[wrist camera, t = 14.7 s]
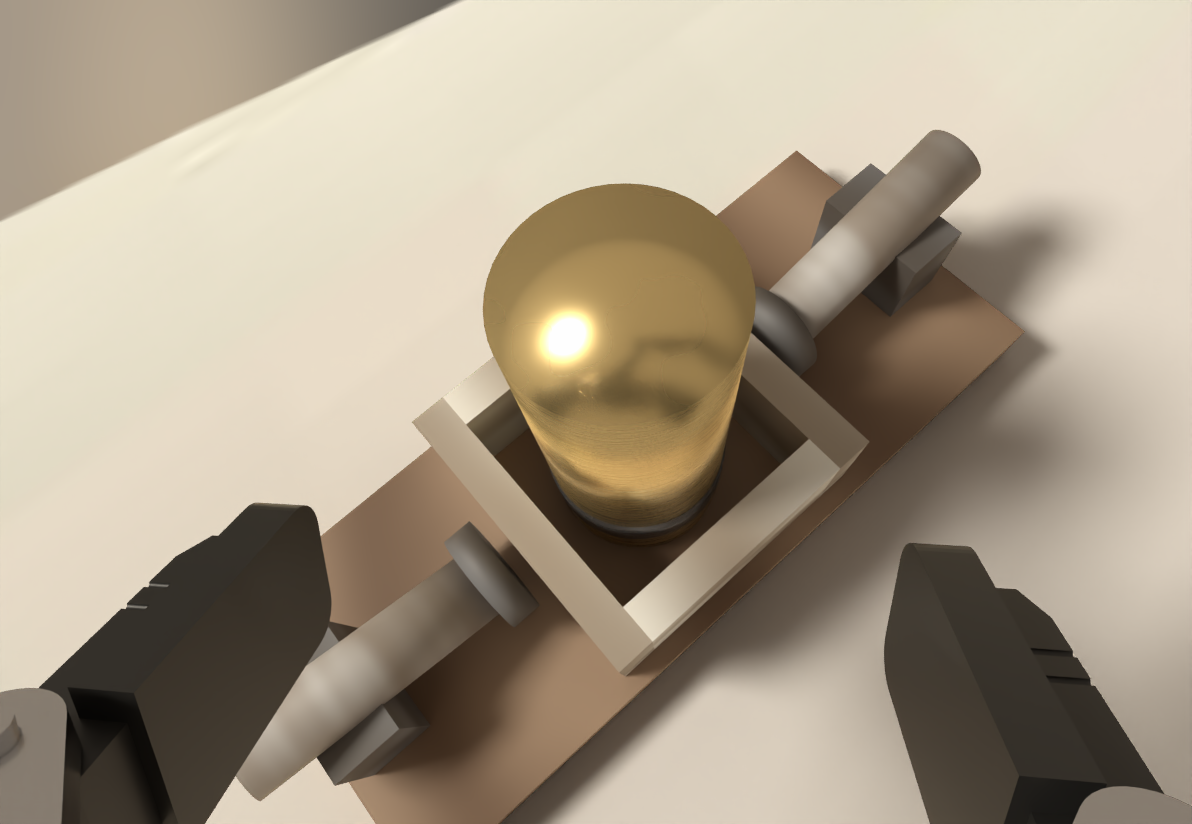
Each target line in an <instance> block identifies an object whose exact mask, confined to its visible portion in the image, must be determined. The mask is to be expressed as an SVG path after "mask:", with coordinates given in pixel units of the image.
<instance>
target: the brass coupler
mask: <svg viewBox="0 0 1192 824" xmlns="http://www.w3.org/2000/svg"><path fill="white" fill-rule="evenodd" d="M755 306H756V295H755V283H754V279H753V274H752V270H751V267H750V264H749V262H748V259H747V257H746V254H745V252H744V251H743V249H742V247H741V245H740V244H739V242H738V240H737V239H736V238H735V236H734V235H733V234H732V232H731V231H730V230H729V228H728V227H727V226H726V225H725V224H724V223H723V222H722V221H721V220H720V219H719V218H718V217H717V216H715V215H714V214H713V213H711V212H710V211H709V210H707V209H706V208H705V207H703V206H702V205H700V204H698V203H696V202H695V201H693V200H691V199H689V198H687V197H685V196H682V195H680V194H678V193H675V192H672V191H669V190H666V189H662V188H659V187H653V186H648V185H641V184H608V185H601V186H595V187H590V188H587V189H583V190H579V191H576V192H573V193H571V194H568V195H565V196H563V197H560V198H558V199H557V200H555V201H553V202H551V203H549V204H547V205H545V206H544V207H542V208H541V209H539V210H538V211H537V212H535V213H534V214H532V215H531V216H530V217H529V218H528V219H526V220H525V221H524V222H523V223H522V224H521V225H520V226H519V227H518V228H517V229H516V230H515V231H514V232H513V233H512V234H511V235H510V237H509V238H508V239H507V241H506V242H505V244H504V245H503V246H502V248H501V249H500V251H499V253H498V255H497V257H496V259H495V260H494V262H493V264H492V267H491V270H490V273H489V275H488V278H487V282H486V287H485V292H484V301H483V317H484V327H485V331H486V336H487V340H488V343H489V345H490V348H491V351H492V353H493V356H494V358H495V360H496V362H497V364H498V366H499V368H500V370H501V372H502V373H503V375H504V377H505V379H506V381H507V383H508V385H509V387H510V389H511V391H512V393H513V395H514V397H515V399H516V401H517V403H518V405H519V407H520V409H521V411H522V413H523V415H524V417H525V419H526V421H527V423H528V425H529V427H530V429H531V431H532V433H533V435H534V437H535V439H536V441H537V443H538V445H539V447H540V449H541V451H542V453H543V455H544V457H545V459H546V461H547V463H548V464H549V467H550V471H551V473H552V476H553V478H554V481H555V483H556V485H557V487H558V489H559V491H560V492H561V494H562V496H563V498H564V500H565V501H566V503H567V504H568V505H569V507H570V508H571V509H572V511H573V513H574V514H575V516H576V517H577V518H578V520H579V521H580V522H581V523H582V524H583V525H584V526H585V527H586V528H587V529H589V530H590V531H591V532H592V533H594V534H595V535H597V536H599V537H600V538H602V539H604V540H606V541H609V542H611V543H614V544H618V545H621V546H627V547H651V546H657V545H660V544H664V543H667V542H669V541H672V540H674V539H676V538H678V537H679V536H681V535H683V534H684V533H686V532H687V531H688V530H689V529H691V528H692V527H693V526H694V525H695V524H696V523H697V522H698V521H699V520H700V519H701V517H702V516H703V514H704V513H705V512H706V510H707V508H708V506H709V504H710V503H711V500H712V497H713V495H714V492H715V490H716V487H717V484H718V482H719V478H720V474H721V470H722V466H723V461H724V457H725V447H726V439H727V435H728V431H729V426H730V422H731V417H732V413H733V409H734V404H735V400H736V396H737V391H738V387H739V383H740V378H741V374H742V370H743V365H744V361H745V357H746V352H747V348H748V344H749V339H750V335H751V331H752V326H753V322H754V318H755Z"/></svg>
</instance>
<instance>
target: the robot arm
mask: <svg viewBox="0 0 1192 824" xmlns="http://www.w3.org/2000/svg"><path fill="white" fill-rule="evenodd" d="M331 606H332V600H331V591H330V586H329V580H328V575H327V569H326V564H325V558H324V553H323V548H322V542H321V537H320V531H319V526H318V521H317V517H316V515H315V513H314V511H313V510H312V509H311V508H310V507H309V506H304V505H287V504H271V503H253V504H251V505H249V506H248V507H247V508H246V509H245V510H244V511H243V512H242V513H241V514H240V515H239V516H238V517H237V518H236V519H235V520H234V521H233V522H232V523H231V524H230V525H229V526H228V527H227V528H226V529H225V530H224V531H223V532H222V533H221V534H220V535H219V536H211V537H209V538H208V539H206V540H204V541H202V542H201V543H199V544H197V545H195V546H194V547H192V548H190V549H188V550H186V551H185V552H183V553H181V554H179V555H178V556H176V557H175V558H174V559H173V560H172V561H171V562H170V563H169V564H168V565H167V566H165V567H164V568H163V569H162V570H161V571H160V572H159V573H158V574H157V575H156V576H155V577H154V578H153V579H152V580H151V581H150V582H149V587H144V588H143V589H141V590H140V591H139V592H138V593H137V594H136V595H135V596H134V597H133V598H132V599H131V600H130V601H129V602H128V603H127V608H126V609H121V610H120V611H118V612H117V613H116V614H115V615H114V616H113V617H112V618H111V619H110V620H109V621H108V622H107V623H106V624H105V625H104V626H103V627H102V628H101V629H100V630H99V631H98V632H97V633H95V634H94V635H93V636H92V637H91V638H90V639H89V640H88V641H87V642H86V643H85V644H84V645H83V646H82V647H81V648H80V649H79V650H78V651H77V652H76V653H75V654H74V655H72V656H71V657H70V658H69V659H68V660H67V661H66V662H65V663H64V664H63V665H62V666H61V667H60V668H59V669H58V670H57V671H56V672H55V673H54V674H53V675H52V676H51V677H50V678H48V679H47V680H46V681H45V682H44V683H43V684H42V685H41V686H40V687H39V688H24V689H15V690H9V691H4V692H1V693H0V824H205V823H206V821H207V819H208V818H209V816H210V815H211V813H212V812H213V810H214V809H215V807H216V805H217V804H218V802H219V801H220V799H221V798H222V796H223V795H224V793H225V791H226V790H227V788H228V787H229V785H230V784H231V782H232V781H233V779H234V777H235V776H236V774H237V773H238V771H239V770H240V768H241V766H242V765H243V763H244V762H245V760H246V759H247V757H248V756H249V754H250V752H251V751H252V749H253V748H254V746H255V745H256V743H257V742H258V740H259V738H260V737H261V735H262V734H263V732H264V731H265V729H266V728H267V726H268V724H269V723H270V721H271V720H272V718H273V717H274V715H275V713H276V712H277V710H278V709H279V707H280V706H281V704H282V703H283V701H284V699H285V698H286V696H287V695H288V693H289V692H290V690H291V689H292V687H293V685H294V684H295V682H296V681H297V679H298V678H299V676H300V675H301V673H302V671H303V670H304V668H305V667H306V665H307V664H308V662H309V660H310V659H311V657H312V656H313V654H314V653H315V651H316V650H317V648H318V646H319V645H320V643H321V642H322V640H323V638H324V636H325V634H326V631H327V628H328V625H329V621H330V616H331ZM884 663H885V674H886V680H887V685H888V689H889V692H890V695H891V699H892V702H893V705H894V708H895V712H896V715H897V718H898V721H899V725H900V728H901V731H902V734H903V738H904V741H905V744H906V747H907V751H908V754H909V757H910V760H911V764H912V767H913V770H914V773H915V776H916V780H917V783H918V786H919V789H920V793H921V796H922V799H923V802H924V806H925V809H926V812H927V815H928V819H929V822H930V824H1192V806H1190V805H1188V804H1186V803H1184V802H1182V801H1180V800H1177V799H1175V798H1173V797H1170V796H1167V795H1165V794H1164V793H1163V791H1162V790H1161V788H1160V787H1159V785H1158V783H1157V782H1156V780H1155V779H1154V777H1153V776H1152V774H1151V772H1150V771H1149V769H1148V768H1147V766H1146V765H1145V763H1144V762H1143V760H1142V758H1141V757H1140V755H1139V754H1138V752H1137V751H1136V749H1135V747H1134V746H1133V744H1132V743H1131V741H1130V740H1129V738H1128V737H1127V735H1126V733H1125V732H1124V730H1123V729H1122V727H1121V726H1120V724H1119V722H1118V721H1117V719H1116V718H1115V716H1114V715H1113V713H1112V712H1111V710H1110V708H1109V707H1108V705H1107V704H1106V702H1105V701H1104V699H1103V697H1102V696H1101V694H1100V693H1099V691H1098V690H1097V688H1096V687H1095V686H1091V683H1090V677H1089V676H1088V674H1087V672H1086V671H1085V669H1084V668H1083V666H1082V665H1081V663H1080V662H1079V660H1078V658H1075V657H1073V651H1072V649H1071V647H1070V646H1069V644H1068V643H1067V641H1066V640H1065V638H1064V637H1063V635H1062V633H1061V632H1060V630H1059V629H1058V627H1057V626H1056V624H1055V622H1054V621H1053V619H1052V618H1051V617H1050V616H1048V615H1047V614H1046V613H1045V612H1044V611H1042V610H1041V609H1040V608H1039V607H1037V606H1036V605H1035V604H1034V603H1032V602H1031V601H1030V600H1029V599H1028V598H1026V597H1025V596H1024V595H1023V594H1021V593H1020V592H1019V591H1018V590H1016V589H1002V588H996V587H995V586H994V584H993V582H992V580H991V579H990V577H989V575H988V573H987V572H986V570H985V568H984V566H983V565H982V563H981V561H980V559H979V558H978V556H977V554H976V553H975V551H974V550H973V549H972V548H971V547H967V546H950V545H933V544H917V543H908V544H907V545H906V546H905V547H904V549H903V552H902V555H901V559H900V564H899V569H898V574H897V579H896V584H895V590H894V595H893V600H892V605H891V610H890V616H889V621H888V626H887V631H886V637H885V646H884Z"/></svg>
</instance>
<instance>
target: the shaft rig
mask: <svg viewBox="0 0 1192 824" xmlns="http://www.w3.org/2000/svg"><path fill="white" fill-rule="evenodd" d="M980 174H981V168H980V164H979V162H978V160H977V158H976V156H975V155H974V153H973V152H972V151H971V150H970V148H969V147H968V146H967V145H966V144H965V143H963V142H962V141H961V140H960V139H958V138H957V137H955V136H954V135H952V134H950V133H948V132H945V131H941V130H933V131H931V132H929V133H928V134H927V135H926V136H925V137H924V138H923V139H922V140H921V141H920V142H919V143H918V144H917V145H916V146H915V147H914V148H913V149H912V150H911V151H910V152H909V153H908V154H907V155H906V156H905V157H904V158H903V159H902V160H901V161H900V162H899V163H898V164H897V165H896V166H895V167H894V168H893V169H892V170H891V171H890V172H889V173H888V174H887V175H886V174H884V173H883V172H882V171H880V170H879V169H878V168H876V167H875V166H874V165H872V164H870V165H868V166H867V167H866V168H865V169H864V170H862V171H861V172H860V173H859V174H858V175H856V176H855V177H854V178H853V179H852V180H850V181H849V182H848V183H847V184H846V185H844V186H843V187H842V186H841V185H839V184H838V183H837V182H836V181H834V180H833V179H832V178H831V177H829V176H828V175H827V174H826V173H824V172H823V171H822V170H821V169H819V168H818V167H817V166H815V165H814V164H813V163H812V162H810V161H809V160H808V159H807V158H805V157H804V156H803V155H802V154H800V153H799V152H798V151H795V152H794V153H793V154H792V155H791V156H789V157H788V158H787V159H786V160H784V161H783V162H782V163H781V164H779V165H778V166H777V167H776V168H775V169H773V170H772V171H771V172H770V173H768V174H767V175H766V176H765V177H763V178H762V179H761V180H760V181H758V182H757V183H756V184H755V185H754V186H752V187H751V188H750V189H749V190H747V191H746V192H745V193H744V194H742V195H741V196H740V197H739V198H738V199H736V200H735V201H734V202H733V203H731V204H730V205H729V206H728V207H726V208H725V209H724V210H723V211H721V212H720V213H719V214H718V215H717V217H718V218H719V219H720V220H721V221H722V222H723V223H724V224H725V225H726V226H727V227H728V228H729V230H730V231H731V232H732V234H733V235H734V236H735V238H736V239H737V240H738V242H739V244H740V245H741V247H742V249H743V251H744V252H745V254H746V257H747V259H748V262H749V264H750V267H751V270H752V274H753V279H754V283H755V295H756V306H755V318H754V322H753V326H752V331H751V335H750V339H749V344H748V348H747V352H746V357H745V361H744V365H743V370H742V374H741V378H740V383H739V387H738V391H737V396H736V400H735V404H734V409H733V413H732V417H731V422H730V426H729V431H728V435H727V439H726V447H725V457H724V461H723V466H722V470H721V474H720V478H719V482H718V484H717V487H716V490H715V492H714V495H713V497H712V500H711V503H710V504H709V506H708V508H707V510H706V512H705V513H704V514H703V516H702V517H701V519H700V520H699V521H698V522H697V523H696V524H695V525H694V526H693V527H692V528H691V529H689V530H688V531H687V532H686V533H684V534H683V535H681V536H679V537H678V538H676V539H674V540H672V541H669V542H667V543H664V544H660V545H657V546H651V547H627V546H621V545H618V544H614V543H611V542H609V541H606V540H604V539H602V538H600V537H599V536H597V535H595V534H594V533H592V532H591V531H590V530H589V529H587V528H586V527H585V526H584V525H583V524H582V523H581V522H580V521H579V520H578V518H577V517H576V516H575V514H574V513H573V511H572V509H571V508H570V507H569V505H568V504H567V503H566V501H565V500H564V498H563V496H562V494H561V492H560V491H559V489H558V487H557V485H556V483H555V481H554V478H553V476H552V473H551V471H550V467H549V464H548V463H547V461H546V459H545V457H544V455H543V453H542V451H541V449H540V447H539V445H538V443H537V441H536V439H535V437H534V435H533V433H532V431H531V429H530V427H529V425H528V423H527V421H526V419H525V417H524V415H523V413H522V411H521V409H520V407H519V405H518V403H517V401H516V399H515V397H514V395H513V393H512V391H511V389H510V387H509V385H508V383H507V381H506V379H505V377H504V375H503V373H502V372H501V370H500V368H499V366H498V364H497V362H496V360H495V358H494V357H493V358H491V359H490V360H489V361H488V362H486V363H485V364H484V365H483V366H481V367H480V368H479V369H478V370H476V371H475V372H474V373H473V374H471V375H470V376H469V377H468V378H466V379H465V380H464V381H463V382H461V383H460V384H459V385H458V386H456V387H455V388H454V389H453V390H451V391H450V392H449V393H448V394H446V395H445V396H444V397H443V398H441V399H440V400H439V401H438V402H436V403H435V404H434V405H433V406H431V407H430V408H429V409H428V410H426V411H425V412H424V413H423V414H421V415H420V416H419V417H418V418H416V419H415V420H414V421H413V422H412V423H413V424H414V425H415V427H416V428H417V429H418V430H419V431H420V433H421V434H422V435H423V436H424V437H425V439H426V440H427V441H428V442H429V444H430V445H431V446H432V447H430V448H429V449H428V450H427V451H425V452H424V453H423V454H422V455H420V456H419V457H418V458H417V459H415V460H414V461H413V462H412V463H411V464H409V465H408V466H407V467H406V468H404V469H403V470H402V471H401V472H399V473H398V474H397V475H396V476H394V477H393V478H392V479H391V480H390V481H388V482H387V483H386V484H385V485H383V486H382V487H381V488H380V489H378V490H377V491H376V492H375V493H374V494H372V495H371V496H370V497H369V498H367V499H366V500H365V501H364V502H362V503H361V504H360V505H359V506H357V507H356V508H355V509H354V510H353V511H351V512H350V513H349V514H348V515H346V516H345V517H344V518H343V519H341V520H340V521H339V522H338V523H336V524H335V525H334V526H333V527H332V528H330V529H329V530H328V531H327V532H325V533H324V534H323V535H322V536H320V537H321V542H322V548H323V553H324V558H325V564H326V569H327V575H328V580H329V586H330V591H331V600H332V606H331V616H330V621H329V625H328V628H327V631H326V634H325V636H324V638H323V640H322V642H321V643H320V645H319V646H318V648H317V650H316V651H315V653H314V654H313V656H312V657H311V659H310V660H309V662H308V664H307V665H306V667H305V668H304V670H303V671H302V673H301V675H300V676H299V678H298V679H297V681H296V682H295V684H294V685H293V687H292V689H291V690H290V692H289V693H288V695H287V696H286V698H285V699H284V701H283V703H282V704H281V706H280V707H279V709H278V710H277V712H276V713H275V715H274V717H273V718H272V720H271V721H270V723H269V724H268V726H267V728H266V729H265V731H264V732H263V734H262V735H261V737H260V738H259V740H258V742H257V743H256V745H255V746H254V748H253V749H252V751H251V752H250V754H249V756H248V757H247V759H246V760H245V762H244V763H243V765H242V766H241V768H240V770H239V771H238V773H237V774H236V777H237V779H238V780H239V781H240V783H241V784H242V785H243V786H244V788H245V789H246V790H247V791H248V792H249V793H250V794H251V795H252V796H253V797H254V798H255V799H257V800H258V801H261V800H263V799H264V798H265V797H267V796H268V795H269V794H270V793H272V792H273V791H274V790H275V789H277V788H278V787H279V786H281V785H282V784H283V783H284V782H286V781H287V780H288V779H289V778H291V777H292V776H293V775H295V774H296V773H297V772H298V771H300V770H301V769H302V768H304V767H305V766H306V765H307V764H309V763H310V762H311V761H312V760H314V759H315V758H316V757H317V759H318V760H319V762H320V763H321V765H322V766H323V768H324V770H325V771H326V773H327V774H328V776H329V777H330V779H331V780H332V782H333V784H334V785H339V784H343V783H347V782H349V783H350V785H351V786H352V788H353V790H354V791H355V793H356V794H357V796H358V797H359V799H360V800H361V802H362V803H363V805H364V806H365V808H366V810H367V811H368V813H369V814H370V816H371V817H372V819H373V820H374V822H375V823H376V824H500V823H501V822H502V821H503V820H504V819H505V818H506V817H508V816H509V815H510V814H511V813H512V812H513V811H514V810H515V809H516V808H517V807H518V806H519V805H520V804H521V803H523V802H524V801H525V800H526V799H527V798H528V797H529V796H530V795H531V794H532V793H533V792H534V791H535V790H536V789H537V788H539V787H540V786H541V785H542V784H543V783H544V782H545V781H546V780H547V779H548V778H549V777H550V776H551V775H552V774H554V773H555V772H556V771H557V770H558V769H559V768H560V767H561V766H562V765H563V764H564V763H565V762H566V761H567V760H569V759H570V758H571V757H572V756H573V755H574V754H575V753H576V752H577V751H578V750H579V749H580V748H581V747H582V746H584V745H585V744H586V743H587V742H588V741H589V740H590V739H591V738H592V737H593V736H594V735H595V734H596V733H597V732H599V731H600V730H601V729H602V728H603V727H604V726H605V725H606V724H607V723H608V722H609V721H610V720H611V719H612V718H614V717H615V716H616V715H617V714H618V713H619V712H620V711H621V710H622V709H623V708H624V707H625V706H626V705H627V704H629V703H630V702H631V701H632V700H633V699H634V698H635V697H636V696H637V695H638V694H639V693H640V692H641V691H642V690H643V689H645V688H646V687H647V686H648V685H649V684H650V683H651V682H652V681H653V680H654V679H655V678H656V677H657V676H658V675H660V674H661V673H662V672H663V671H664V670H665V669H666V668H667V667H668V666H669V665H670V664H671V663H672V662H673V661H675V660H676V659H677V658H678V657H679V656H680V655H681V654H682V653H683V652H684V651H685V650H686V649H687V648H688V647H690V646H691V645H692V644H693V643H694V642H695V641H696V640H697V639H698V638H699V637H700V636H701V635H702V634H703V633H705V632H706V631H707V630H708V629H709V628H710V627H711V626H712V625H713V624H714V623H715V622H716V621H717V620H718V619H720V618H721V617H722V616H723V615H724V614H725V613H726V612H727V611H728V610H729V609H730V608H731V607H732V606H733V605H734V604H736V603H737V602H738V601H739V600H740V599H741V598H742V597H743V596H744V595H745V594H746V593H747V592H748V591H749V590H751V589H752V588H753V587H754V586H755V585H756V584H757V583H758V582H759V581H760V580H761V579H762V578H763V577H764V576H766V575H767V574H768V573H769V572H770V571H771V570H772V569H773V568H774V567H775V566H776V565H777V564H778V563H779V562H781V561H782V560H783V559H784V558H785V557H786V556H787V555H788V554H789V553H790V552H791V551H792V550H793V549H794V548H796V547H797V546H798V545H799V544H800V543H801V542H802V541H803V540H804V539H805V538H806V537H807V536H808V535H809V534H811V533H812V532H813V531H814V530H815V529H816V528H817V527H818V526H819V525H820V524H821V523H822V522H823V521H824V520H826V519H827V518H828V517H829V516H830V515H831V514H832V513H833V512H834V511H835V510H836V509H837V508H838V507H839V506H840V505H842V504H843V503H844V502H845V501H846V500H847V499H848V498H849V497H850V496H851V495H852V494H853V493H854V492H855V491H857V490H858V489H859V488H860V487H861V486H862V485H863V484H864V483H865V482H866V481H867V480H868V479H869V478H870V477H872V476H873V475H874V474H875V473H876V472H877V471H878V470H879V469H880V468H881V467H882V466H883V465H884V464H885V463H887V462H888V461H889V460H890V459H891V458H892V457H893V456H894V455H895V454H896V453H897V452H898V451H899V450H900V449H902V448H903V447H904V446H905V445H906V444H907V443H908V442H909V441H910V440H911V439H912V438H913V437H914V436H915V435H917V434H918V433H919V432H920V431H921V430H922V429H923V428H924V427H925V426H926V425H927V424H928V423H929V422H930V421H932V420H933V419H934V418H935V417H936V416H937V415H938V414H939V413H940V412H941V411H942V410H943V409H944V408H945V407H946V406H948V405H949V404H950V403H951V402H952V401H953V400H954V399H955V398H956V397H957V396H958V395H959V394H960V393H961V392H963V391H964V390H965V389H966V388H967V387H968V386H969V385H970V384H971V383H972V382H973V381H974V380H975V379H976V378H978V377H979V376H980V375H981V374H982V373H983V372H984V371H985V370H986V369H987V368H988V367H989V366H990V365H991V364H993V363H994V362H995V361H996V360H997V359H998V358H999V357H1000V356H1001V355H1002V354H1003V353H1004V352H1005V351H1006V350H1007V349H1008V348H1009V347H1010V346H1011V345H1012V344H1013V343H1014V342H1015V341H1016V340H1017V339H1018V338H1019V337H1020V336H1021V335H1022V334H1023V333H1024V332H1025V331H1024V330H1022V329H1021V328H1020V327H1019V326H1017V325H1016V324H1015V323H1014V322H1012V321H1011V320H1010V319H1008V318H1007V317H1006V316H1005V315H1003V314H1002V313H1001V312H1000V311H998V310H997V309H996V308H995V307H993V306H992V305H991V304H990V303H988V302H987V301H986V300H985V299H983V298H982V297H981V296H979V295H978V294H977V293H976V292H974V291H973V290H972V289H971V288H969V287H968V286H967V285H966V284H964V283H963V282H962V281H961V280H959V279H958V278H957V277H955V276H954V275H953V274H952V273H950V272H949V271H948V270H947V269H945V268H944V267H943V266H942V263H943V262H944V260H945V258H946V257H947V255H948V254H949V252H950V251H951V249H952V247H953V246H954V244H955V243H956V241H957V240H958V238H959V236H960V235H961V232H960V231H958V230H957V229H956V228H955V227H953V226H952V225H951V224H949V223H948V222H947V221H945V220H944V219H943V218H942V217H940V215H941V214H942V213H943V212H944V211H945V210H946V209H947V208H948V207H949V206H950V205H951V204H952V203H953V202H954V201H955V200H956V199H957V198H958V197H959V196H960V195H961V194H962V193H963V192H964V191H965V190H966V189H967V188H969V187H970V186H971V185H972V184H973V183H974V182H975V181H976V180H977V179H978V178H979V176H980Z"/></svg>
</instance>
